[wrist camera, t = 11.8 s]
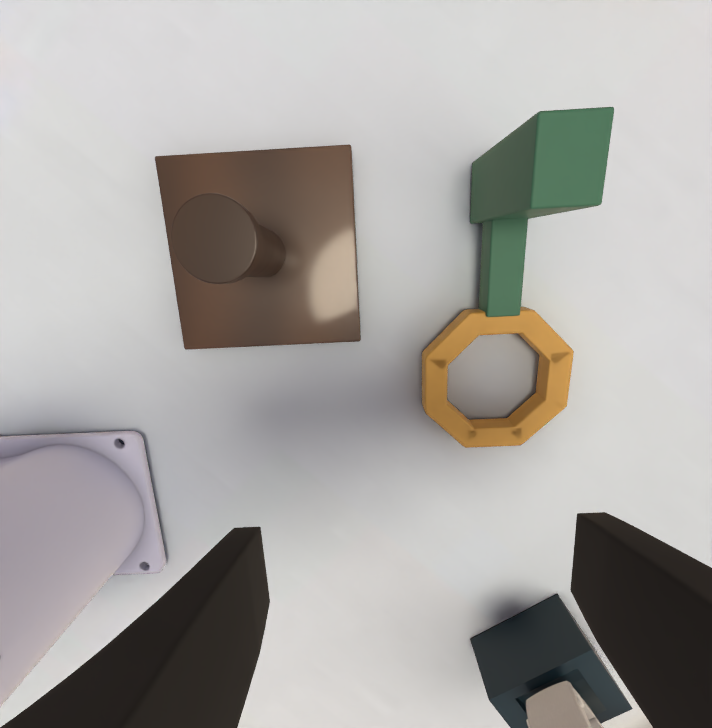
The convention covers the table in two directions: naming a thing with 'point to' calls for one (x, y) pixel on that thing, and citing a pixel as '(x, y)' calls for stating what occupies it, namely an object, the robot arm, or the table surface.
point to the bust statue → (546, 671)
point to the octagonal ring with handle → (519, 263)
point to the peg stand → (262, 246)
